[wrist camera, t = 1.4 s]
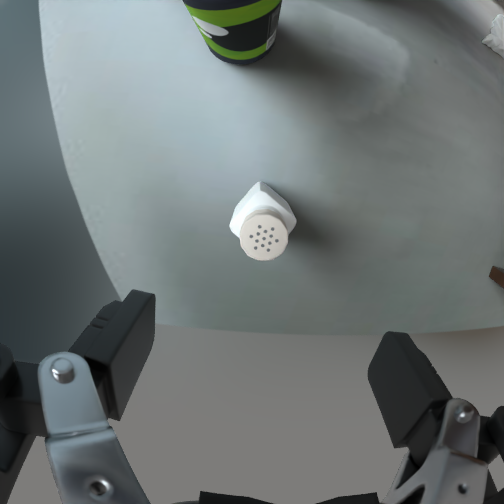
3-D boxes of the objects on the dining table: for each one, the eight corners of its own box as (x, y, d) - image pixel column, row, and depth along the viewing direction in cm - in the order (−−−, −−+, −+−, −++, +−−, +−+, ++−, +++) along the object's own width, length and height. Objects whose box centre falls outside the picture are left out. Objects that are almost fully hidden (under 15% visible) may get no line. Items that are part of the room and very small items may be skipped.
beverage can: (253, 2, 21) (250, -94, 7) (287, 49, 23) (315, -32, 9) (196, 30, 22) (146, -52, 8) (228, 77, 24) (197, 15, 10)
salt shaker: (259, 177, 28) (260, 195, 19) (291, 205, 28) (307, 235, 19) (232, 210, 29) (220, 242, 20) (264, 235, 30) (267, 278, 21)
